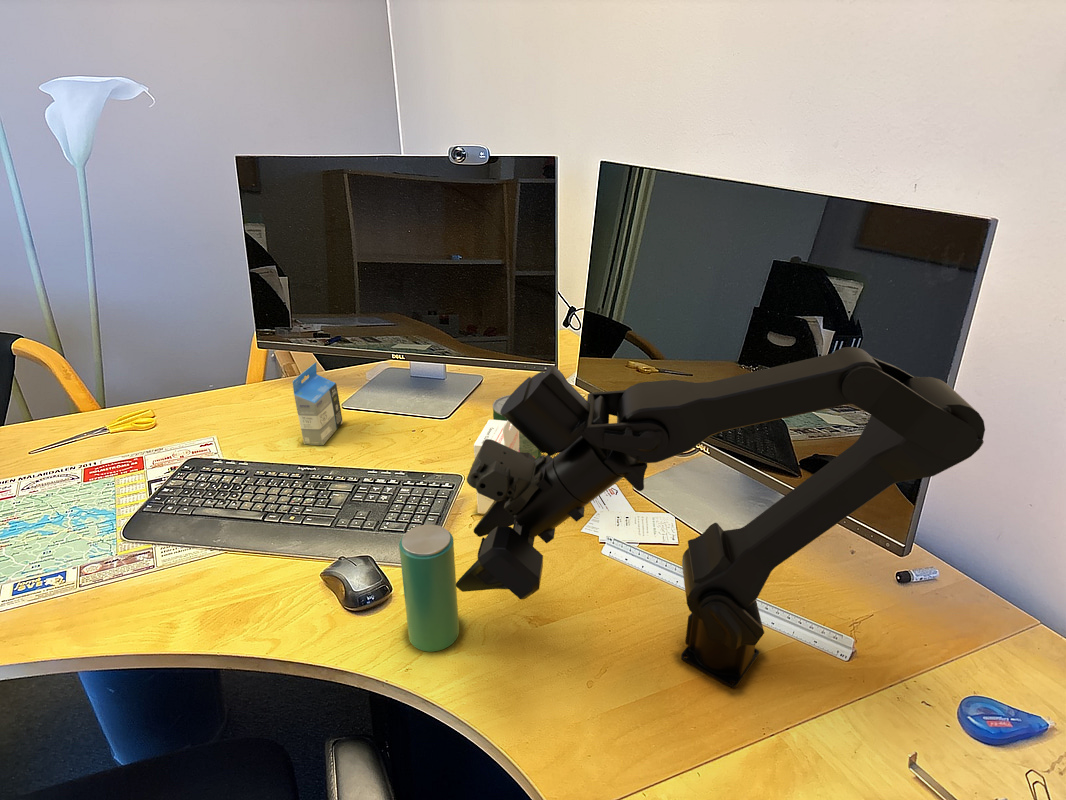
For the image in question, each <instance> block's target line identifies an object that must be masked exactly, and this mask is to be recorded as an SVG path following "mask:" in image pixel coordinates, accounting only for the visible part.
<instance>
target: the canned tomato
mask: <svg viewBox="0 0 1066 800" xmlns="http://www.w3.org/2000/svg"><path fill="white" fill-rule="evenodd" d="M510 395H511V394H507V395H503V396H501V397H499V398H497V399H495V400H494V401H493V403H492V411H493V412H492V417H493V418H492V420H502V421H507V419H506V418H505V417H504V416H503V415H502V414H501V413H500V411H501V409H502V407H503V405H504V403H505V402H506V401H507V399H508V398H509V397H510ZM519 447H520V449H519V451H520V452H525V453H530V454H531V455H532V456H533V457H534V458H535V459H536V460H537V459H538V458H539V457H541V456H542V452H541V451H540V450H539V449H537V448H536V447H535V446H534V445H533V444H532V443H531V442H530V441H529V440H528V439H527V438H526V437H525V436H524V435H523V434H522V433H521V432H520V431H519Z"/></svg>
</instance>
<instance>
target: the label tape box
mask: <svg viewBox="0 0 1066 800" xmlns="http://www.w3.org/2000/svg"><path fill="white" fill-rule="evenodd" d="M317 364H318V363H317V361H316V362H314V363H313V364H311V365H310V366H309V367H308V368H306V369H305V370H304V371H302V372H301V373H300V374H299V375H298V376H296V378H294V379H293V380H292V382H291V383H292V389H293V396H294V401H295V406H296V411H297V416H298V422H299V426H300V432H301V436H302V440H303V441H302V442H303V444H304V445H311V446H324V445H325V444H326V443H327V442H328V440H329V439H330V438H331V437H332V436H333V435H334V433H335V432H336V431H337V430H338V429H339V428H340V427H341V425H342V424H343V423H344V422H343V420H344V419H343V415H342V408H341V404H340V403H341V401H340V398H339V397H340V396H339V391H338V385H337V383H336V382H334V381H332V380H330V379H328V378H326V377H324V376H321V375H319V374H317ZM305 377H307V378H306V379H305ZM304 379H305V380H304ZM302 381H303V382H302Z"/></svg>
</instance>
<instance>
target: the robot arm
mask: <svg viewBox="0 0 1066 800" xmlns="http://www.w3.org/2000/svg"><path fill="white" fill-rule="evenodd" d="M509 395H510V397H509V398H508V399H507V401H506V402H505V403H504V405H503V407H502V409H501V411H500V413H501V414H502V415H503V416H504V417H505V418H506V419H507V420H508V421H509V422H510V423H511V424H512V425H513V426H514V427H515V428H516V429H517V430H518V431H520V432H521V433H522V434H523V435H524V436H525V437H526V438H527V439H528V440H529V441H530V442H531V443H532V444H533V445H534V446H535V447H536V448H537V449H539V450H540V451H541V457H539V458H538V459H537V460H536V459H535V458H534V457H533V456H532V455H531V454H530V453H525V452H517V451H515V450H513V449H511V448H509V447H507V446H505V445H502V444H500V443H498V442H496V441H494V440H490V439H486V440H485V441H484V442H483V444H482V446H481V448H480V450H479V452H478V454H477V456H476V458H475V457H474V460H473V462H472V463H471V467H470V469H469V472H468V475H467V476H466V483H467V484H468V485H469V486H470V487H471V488H473V489H474V490H475V491H476V493H477V492H478V493H479V494H481V495H484V496H486V497H488V498H490V499H492V500H494V502H493V503H492V505H491V506H490V507H489V509H488V510H487V512H486V513H485V514H483V516H482V517H481V518H480V520H479V521H478V523H477V524H476V525H475V527H474V528H473V533H474V534H475V535H476V536H477V537H479V538H481V537H482V538H481V541H480V544H479V548H478V551H477V560H475V562H474V563H473V564H472V565H471V566H470V567H469V568H467V570H466V571H465V572H464V573H463V574H462V576H461V577H460V578H459V579H458V580H456V589H458V590H459V591H461V592H462V593H463V592H464V593H466V592H479V591H488V590H508V591H510V592H511V593H512V594H513V595H515V596H516V597H517V598H518V599H519V600H526V599H527V598H529V597H531V596H532V595H534V594H535V593H536V592H538V591H539V590H540V587H541V580H542V574H543V569H544V568H543V567H544V555H543V554H542V553H541V552H540V551H539V550H537V549H536V548H535V547H534V545H535V538H536V537H539V538H540V539H541V540H542V541H543V542H544V543H545V544H548V543H549V542H551V541H553V540H554V539H555V533H556V528H557V527H559V526H560V525H562V524H563V523H564V522H566V521H567V520H568V519H570V518H571V519H573V520H574V521H575V522H576V523H577V522H579V520H581V519H582V518H584V516H585V506H587V505H589V504H590V503H591V502H592V501H594V500H595V499H596V498H598V497H599V496H600V495H602V494H603V493H604V492H606V491H607V490H609V489H610V488H612V486H615V484H617V483H618V482H620V481H621V480H622V479H625V480H626V481H627V482H628V483H629V484H630V485H631V486H632V487H633V488H634V489H635V490H636V491H637V492H642V491H644V489H645V474H646V471H647V468H648V464H657V463H660V462H663V461H665V460H668V459H671V458H673V457H676V456H678V455H681V454H683V453H687V452H689V451H692V450H693V449H694V448H696V447H697V446H699V445H700V444H701V443H702V442H704V441H706V440H707V439H708V438H710V437H712V436H714V435H717V434H720V433H722V432H726V431H731V430H734V429H741V428H746V427H749V426H754V425H760V424H765V423H768V422H772V421H777V420H782V419H786V418H790V417H796V416H800V415H805V414H806V415H807V414H810V413H814V412H815V413H816V412H819V411H824V410H828V409H833V408H837V407H842V406H847V405H853V406H855V407H857V408H859V409H861V410H863V411H864V412H866V413H868V414H869V415H870V417H869V419H868V421H867V422H866V424H865V426H864V428H863V430H862V432H861V434H860V436H859V438H858V439H857V440H856V441H855V442H854V443H853V444H852V445H850V446H849V447H848V448H846V449H844V451H842V452H840V454H838V455H837V456H835V457H834V458H833V459H832V460H830V461H829V462H827V464H825V465H824V466H823V467H821V468H820V469H819V470H817V471H816V472H814V473H813V474H812V475H810V476H809V477H808V478H806V479H805V480H804V481H803V482H801V483H800V484H799V485H797V486H796V487H795V488H793V489H792V490H791V491H789V492H788V493H786V494H785V495H784V496H782V497H781V498H780V499H779V500H777V501H776V502H775V503H773V504H772V505H771V506H769V507H768V508H767V509H765V510H764V511H763V512H761V513H760V514H758V516H756V517H755V518H753V519H752V520H751V521H750V522H748V523H747V524H746V525H744V526H742V527H739V528H733V529H726V530H723V527H722V526H721V525H720V524H719V523H717V522H714V523H712V524H710V525H709V526H708V527H707V528H706V529H705V531H704V532H703V533H701V534H700V535H699V536H697V537H695V538H691V539H688V540H687V547H688V548H687V549H686V550H685V551H684V553H683V554H682V559H681V568H682V576H683V584H684V585H683V586H684V591H685V592H684V593H685V599H686V600H685V601H686V605H687V608H688V610H689V612H690V613H689V615H688V617H687V623H686V631H685V639H684V643H685V645H686V648H685V649H684V650H683V652H682V653H681V655H680V660H681V662H684V663H685V664H687V665H689V666H690V667H693V668H694V669H696V670H698V671H700V672H702V673H703V674H705V675H707V677H710V678H712V679H714V680H716V681H717V682H719V683H721V684H723V686H724V685H725V686H726V687H728V688H730V689H736V688H737V687H738V686H739V685H740V683H741V682H742V680H743V679H744V678H745V676H746V674H747V673H748V672H749V670H750V669H751V667H752V666H753V665H754V663H755V662H756V660H757V659H758V658H759V655H760V651H759V650H758V649H757V648H756V645H757V644H758V642H759V641H760V640H761V638H762V637H763V635H764V634H765V629H764V625H763V622H762V619H761V615H760V611H759V607H758V603H757V599H758V597H759V596H760V594H761V592H762V591H763V589H764V586H765V584H766V583H767V581H768V579H769V577H770V575H771V573H772V572H773V570H775V568H777V567H778V566H780V565H781V564H782V563H784V562H785V561H787V560H789V558H791V557H793V555H795V554H796V553H798V552H799V551H801V550H802V549H804V548H805V547H806V546H808V545H809V544H811V543H812V542H813V541H815V540H817V539H818V538H819V537H821V536H822V535H823V534H825V533H826V532H827V531H829V530H830V529H832V528H833V527H835V526H836V525H838V524H839V523H840V522H842V521H844V520H845V519H846V518H848V517H849V516H850V515H852V514H853V513H855V512H856V511H858V510H859V509H860V508H861V507H863V506H865V505H866V504H867V503H868V502H870V501H872V500H873V499H874V498H876V497H877V496H878V495H880V494H882V493H883V492H884V491H886V490H887V489H889V488H890V487H892V486H893V485H895V484H897V483H900V482H901V483H902V482H907V481H913V480H919V479H926V478H931V477H934V476H937V475H938V474H941V473H942V472H944V471H947V470H948V469H950V468H953V467H954V466H956V465H958V464H961V463H962V462H964V461H966V460H969V459H970V458H972V456H973V455H975V454H976V453H977V452H978V451H979V450H980V449H981V447H982V446H983V444H985V443H984V436H985V431H986V426H985V420H984V419H983V417H982V416H981V414H980V412H978V410H976V409H975V408H974V407H973V406H972V405H970V404H969V403H968V402H967V401H966V400H965V398H963V397H962V396H961V395H960V394H959V393H957V392H956V390H954V389H953V388H952V387H951V386H950V385H949V383H946V382H944V381H943V380H942V379H940V378H936V377H932V376H922V377H921V376H914V375H912V374H910V373H908V372H907V371H905V370H902V369H901V368H899V367H898V366H895V365H893V364H891V363H888V362H886V361H883V360H881V359H878V358H876V357H874V356H872V355H870V354H869V353H868V352H867V351H866V350H864V349H862V348H859V347H856V346H846V347H841V348H839V349H837V350H835V351H834V352H832V353H828V354H824V355H820V356H815V357H811V358H807V359H802V360H797V361H794V362H790V363H786V364H781V365H777V366H773V367H769V368H764V369H759V370H755V371H751V372H746V373H743V374H739V375H734V376H729V377H727V378H722V379H717V380H712V381H704V382H703V381H702V382H694V381H685V380H679V379H668V380H667V379H665V380H654V381H653V380H651V381H643V382H638V383H636V384H632V385H630V386H629V387H627V388H626V389H622V390H621V389H619V390H609V391H597V392H596V391H595V392H594V391H593V392H589V393H587V398H585V397H584V396H583V395H582V394H581V393H580V392H579V391H578V390H577V389H576V388H575V387H574V386H573V385H572V384H571V383H569V381H568V380H567V379H566V376H565V375H564V374H563V372H561V370H559V368H557V367H556V366H555V365H551V366H549V368H547V369H546V370H545V371H540V372H538V373H536V374H535V375H533V376H532V377H531V376H528V377H527V378H526V379H525V380H524V381H523V382H522V383H521V384H519V386H517V387H516V388H515V389H514V391H513V392H512V393H511V394H509ZM610 416H613V417H616V422H613V423H610ZM544 454H546V455H544ZM554 455H555V456H554ZM552 456H554V457H552ZM484 536H486V537H484Z"/></svg>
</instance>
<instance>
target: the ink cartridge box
mask: <svg viewBox="0 0 1066 800" xmlns="http://www.w3.org/2000/svg"><path fill="white" fill-rule="evenodd" d="M486 439H490V440H494V441H496V442H498V443H500V444H502V445H505V446H507V447H509V448H511V449H513V450H515V451H517V452H520V451H519V449H520V447H519V431H518V430H517V429H516V428H515V427H514V426H513V425H512V424H511V423H510V422H509V421H508V420H507V421H502V420H493V419H491V418H489V419H488V420H487V422H486V424H485V425H484V427H483V428H482V430H481V432H480V434H479V435H478V437H477V438H476V440H475V442H474V443H473V454H474V459H475V458H476V456H477V454H478V452H479V450H480V448H481V446H482V444H483V442H484V441H485V440H486ZM493 502H494V500H492V499H490V498H488V497H486V496H484V495H481V494H479V493H478V492H477V491H476V503H477V504H476V506H477V514H481V515H482V514H483V515H484V514H485V513H486V512H487V510H488V509H489V507H490V506H491V505H492V503H493Z"/></svg>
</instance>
